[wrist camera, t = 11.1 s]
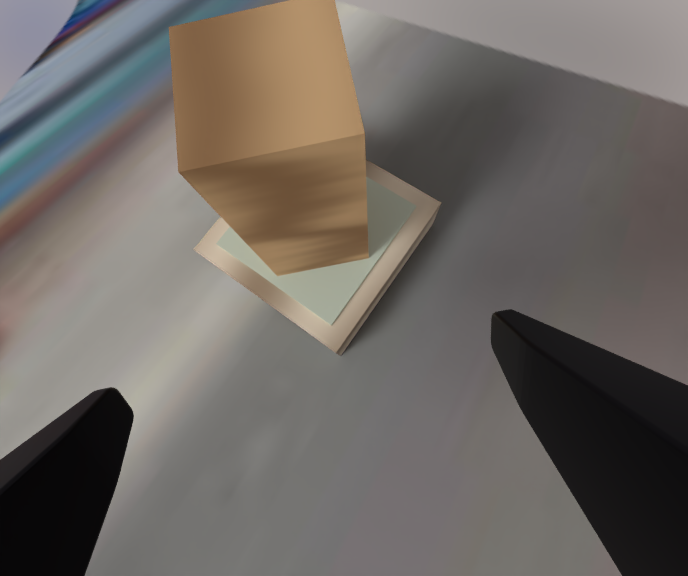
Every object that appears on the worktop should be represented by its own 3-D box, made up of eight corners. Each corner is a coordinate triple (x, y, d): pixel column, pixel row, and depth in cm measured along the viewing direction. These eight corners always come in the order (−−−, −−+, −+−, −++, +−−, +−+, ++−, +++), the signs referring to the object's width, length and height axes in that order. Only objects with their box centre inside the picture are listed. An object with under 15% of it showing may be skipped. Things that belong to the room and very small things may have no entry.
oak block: (351, 176, 20) (332, -10, 10) (368, 258, 19) (364, 133, 9) (266, 194, 20) (169, 27, 11) (277, 276, 19) (178, 172, 9)
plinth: (433, 223, 22) (442, 200, 19) (340, 356, 21) (335, 352, 18) (307, 149, 24) (298, 118, 21) (214, 264, 23) (191, 248, 20)
